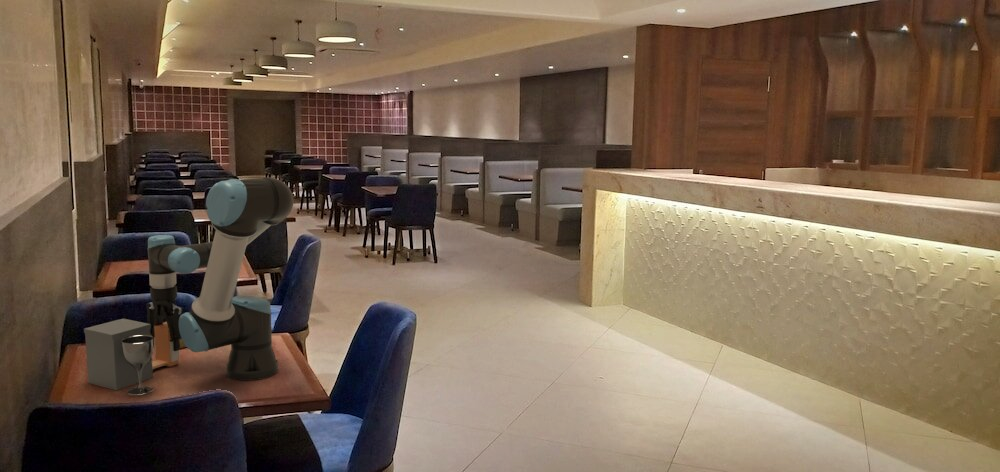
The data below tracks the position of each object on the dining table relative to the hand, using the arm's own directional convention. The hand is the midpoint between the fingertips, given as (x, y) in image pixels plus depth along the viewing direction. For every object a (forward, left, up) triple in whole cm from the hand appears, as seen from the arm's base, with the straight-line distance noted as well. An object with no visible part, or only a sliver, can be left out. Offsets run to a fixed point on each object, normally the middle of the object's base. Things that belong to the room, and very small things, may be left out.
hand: (167, 358), depth 236 cm
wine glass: (-12, +19, -2) cm, 23 cm away
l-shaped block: (0, +4, -2) cm, 4 cm away
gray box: (0, +16, -2) cm, 16 cm away
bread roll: (+16, -15, -2) cm, 21 cm away
